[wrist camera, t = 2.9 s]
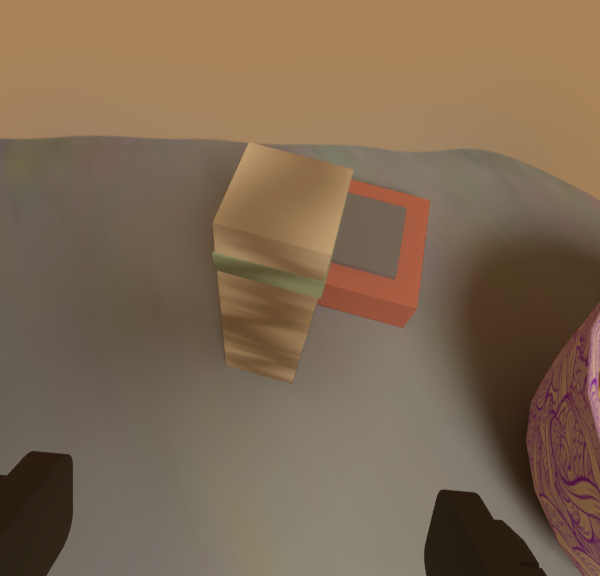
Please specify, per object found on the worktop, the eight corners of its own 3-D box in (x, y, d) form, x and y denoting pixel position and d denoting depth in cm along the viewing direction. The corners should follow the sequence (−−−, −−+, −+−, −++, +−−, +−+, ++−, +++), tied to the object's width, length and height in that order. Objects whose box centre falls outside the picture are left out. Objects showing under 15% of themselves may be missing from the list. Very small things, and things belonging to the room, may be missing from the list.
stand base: (270, 291, 32) (273, 266, 29) (302, 193, 37) (307, 164, 34) (403, 327, 32) (419, 306, 29) (417, 224, 37) (432, 196, 34)
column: (224, 366, 29) (208, 224, 16) (245, 305, 31) (247, 139, 18) (292, 385, 29) (333, 257, 16) (309, 323, 31) (356, 168, 18)
